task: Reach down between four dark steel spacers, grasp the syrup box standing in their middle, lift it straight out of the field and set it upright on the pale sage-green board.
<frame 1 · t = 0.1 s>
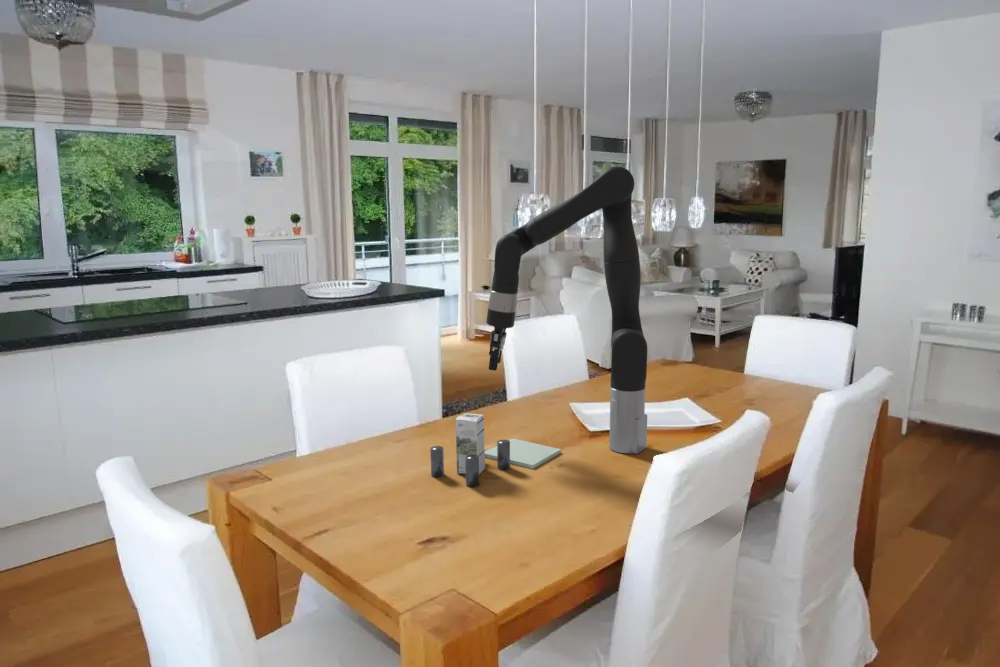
hand: (494, 366, 192), 22 cm above the table, tool pointing down, fingers open, 8 cm apart
spacer 1: (437, 474, 175), on the table
sage board: (521, 454, 188), on the table
spacer 2: (469, 459, 185), on the table
spacer 3: (472, 484, 168), on the table
syrup box: (471, 472, 177), on the table
spacer 4: (503, 467, 179), on the table
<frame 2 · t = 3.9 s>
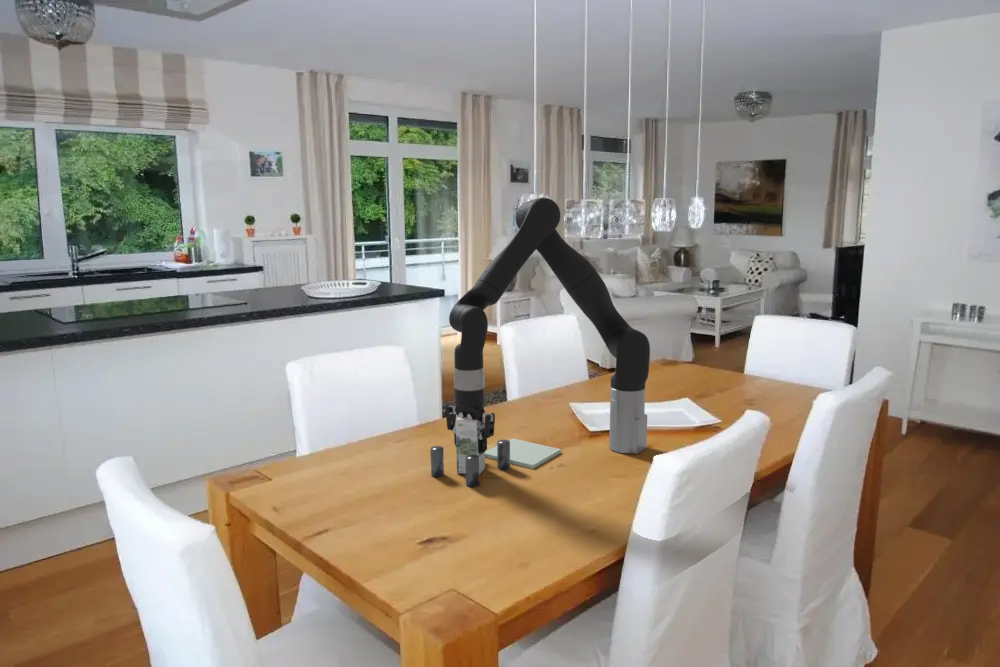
hand: (470, 449, 176), 6 cm above the table, tool pointing down, fingers closed on syrup box, 6 cm apart
syrup box: (471, 472, 177), on the table, touching gripper
everything else where it was.
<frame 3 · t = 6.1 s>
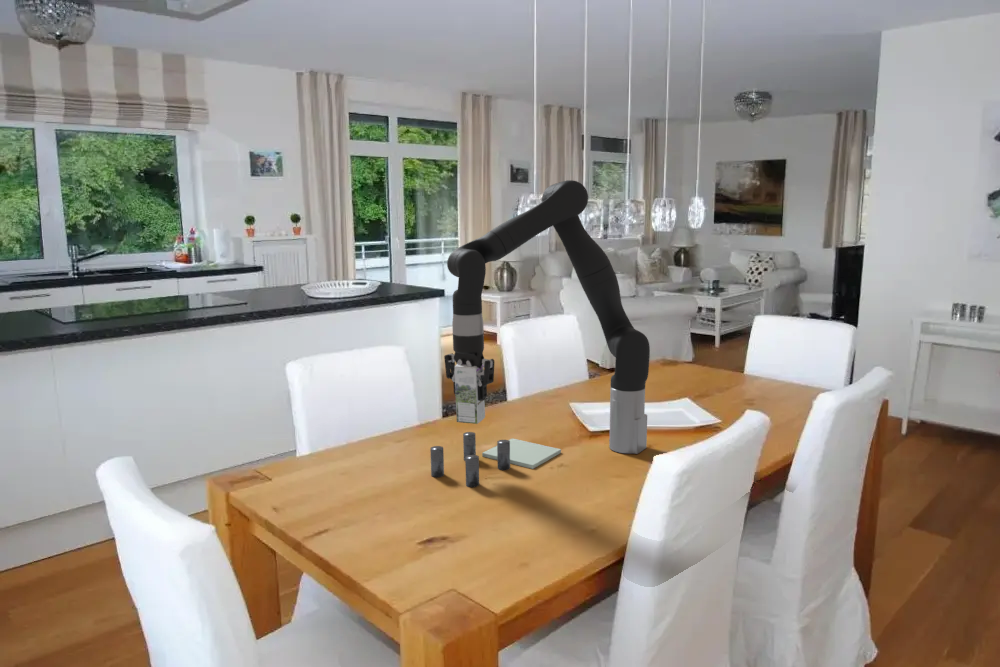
hand: (470, 397, 173), 19 cm above the table, tool pointing down, fingers closed on syrup box, 6 cm apart
syrup box: (470, 421, 174), point 13 cm above the table, touching gripper
everything else where it was.
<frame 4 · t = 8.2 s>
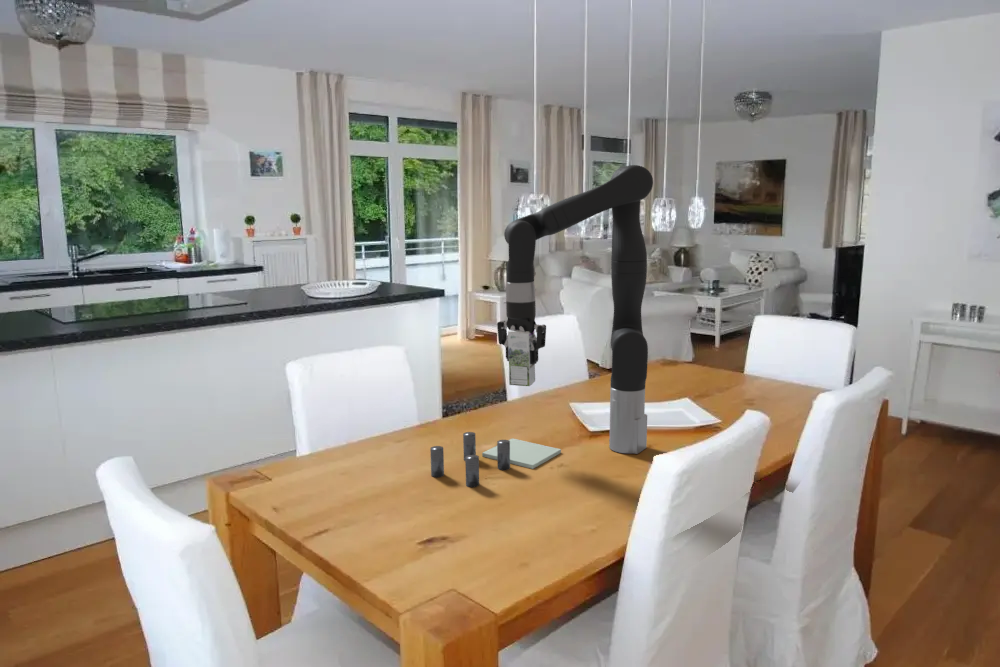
hand: (521, 362, 183), 25 cm above the table, tool pointing down, fingers closed on syrup box, 6 cm apart
syrup box: (522, 384, 184), point 19 cm above the table, touching gripper
everything else where it was.
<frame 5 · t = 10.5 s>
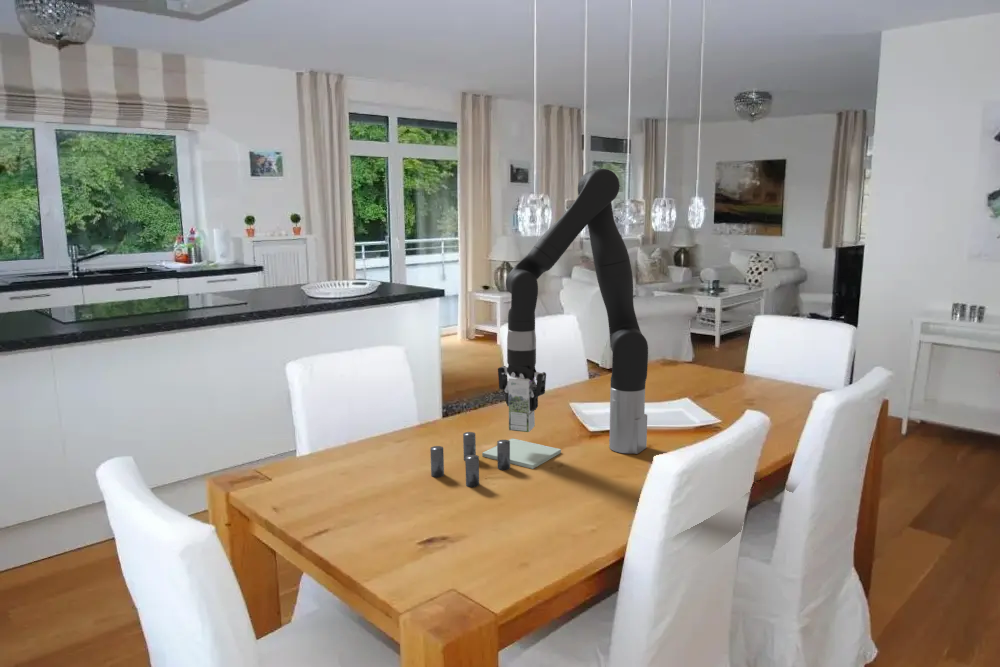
hand: (521, 407, 186), 13 cm above the table, tool pointing down, fingers closed on syrup box, 6 cm apart
syrup box: (521, 429, 187), point 7 cm above the table, touching gripper
everything else where it was.
when the fingers open (8 cm above the table, at t = 12.5 s): syrup box drops 1 cm, resting on sage board.
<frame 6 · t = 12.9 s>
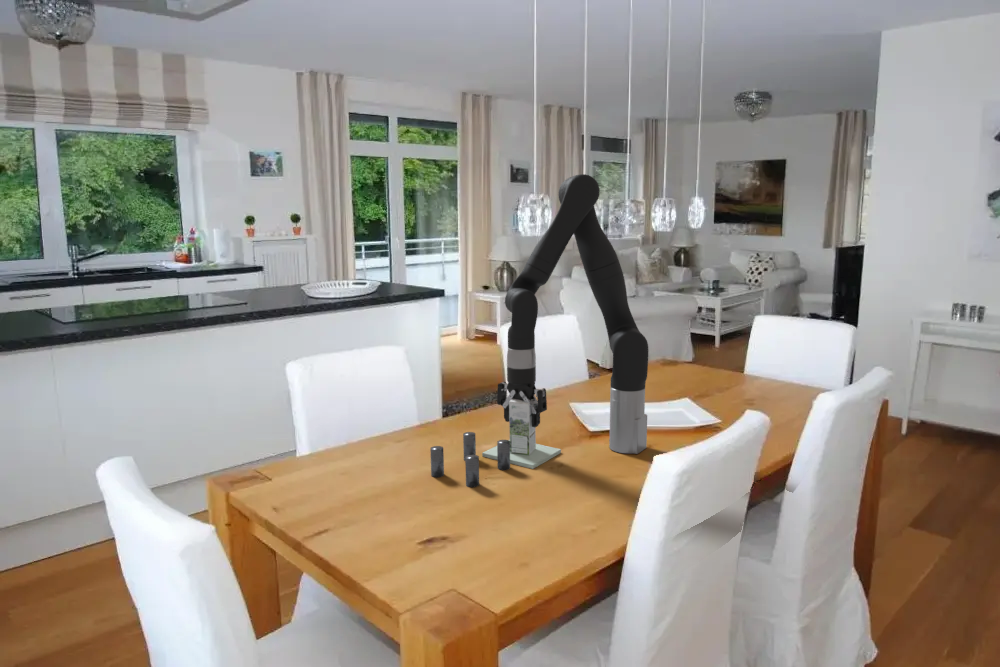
hand: (521, 423, 186), 9 cm above the table, tool pointing down, fingers open, 8 cm apart
syrup box: (522, 451, 188), point 1 cm above the table, touching sage board
everything else where it was.
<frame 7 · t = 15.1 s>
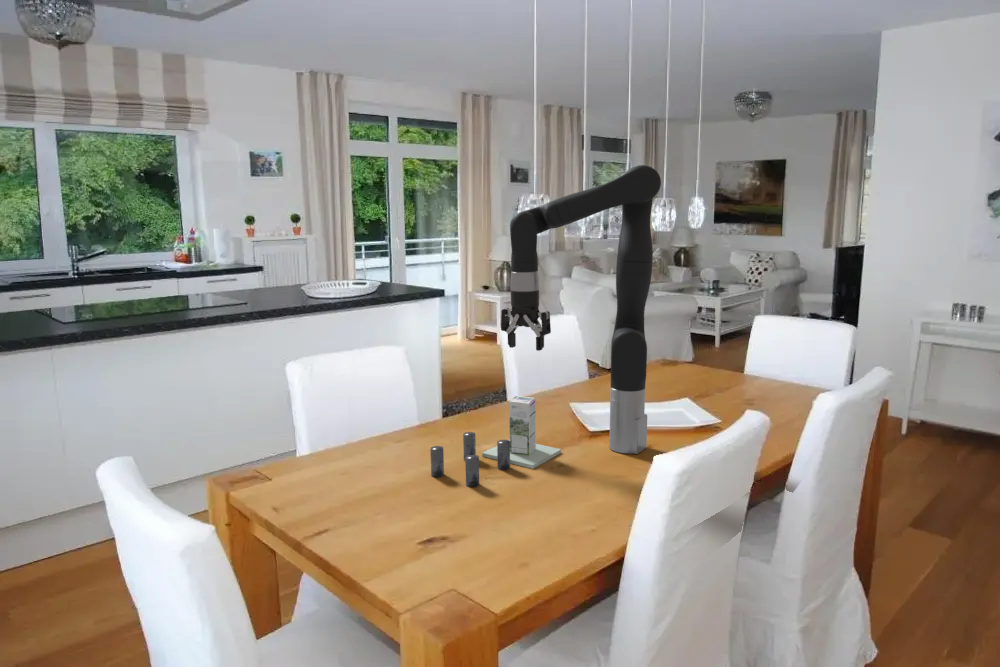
hand: (525, 348, 188), 28 cm above the table, tool pointing down, fingers open, 8 cm apart
nothing on the table moved.
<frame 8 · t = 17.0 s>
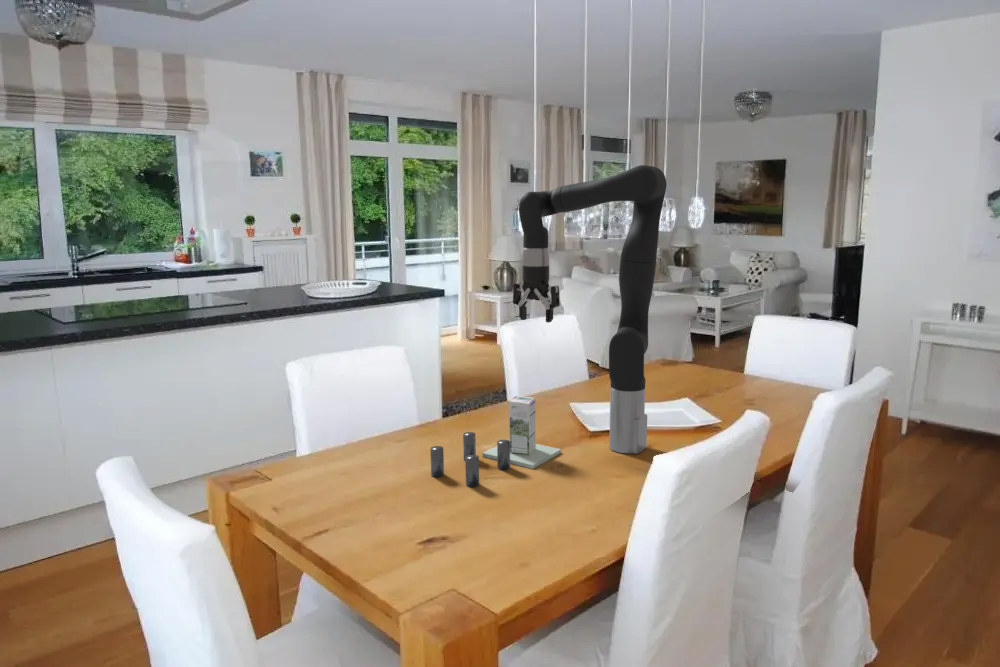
hand: (535, 320, 200), 33 cm above the table, tool pointing down, fingers open, 8 cm apart
nothing on the table moved.
at the end: syrup box inside the target area on the sage board (0.3 cm from its centre), point 0.8 cm above the sage board's base; syrup box tilted 0°; the gripper is holding nothing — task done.
